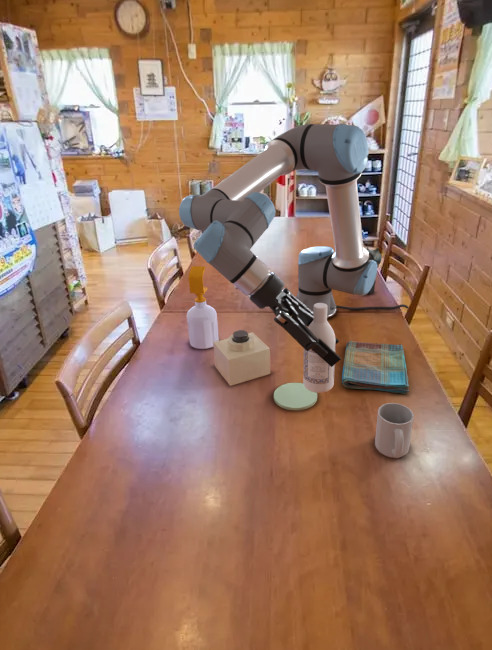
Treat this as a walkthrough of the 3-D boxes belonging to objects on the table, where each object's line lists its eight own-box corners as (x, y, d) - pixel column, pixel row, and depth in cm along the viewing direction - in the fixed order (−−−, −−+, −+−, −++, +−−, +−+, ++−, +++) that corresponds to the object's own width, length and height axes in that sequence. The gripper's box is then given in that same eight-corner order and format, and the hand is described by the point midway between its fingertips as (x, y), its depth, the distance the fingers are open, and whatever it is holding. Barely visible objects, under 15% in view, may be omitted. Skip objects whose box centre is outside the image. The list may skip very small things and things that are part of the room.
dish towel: (340, 388, 118) (341, 380, 117) (345, 345, 139) (346, 338, 138) (408, 395, 115) (410, 386, 114) (403, 349, 136) (404, 342, 134)
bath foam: (314, 373, 108) (316, 296, 100) (339, 383, 104) (343, 304, 96) (297, 386, 104) (297, 306, 95) (322, 397, 100) (324, 315, 91)
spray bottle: (221, 336, 145) (216, 263, 135) (215, 350, 137) (208, 273, 127) (194, 335, 146) (186, 262, 136) (186, 349, 138) (177, 273, 128)
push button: (244, 335, 125) (244, 328, 124) (250, 341, 122) (250, 334, 121) (231, 338, 123) (230, 332, 123) (236, 345, 120) (236, 338, 119)
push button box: (253, 356, 134) (252, 325, 129) (270, 373, 125) (269, 341, 121) (215, 366, 129) (212, 335, 124) (230, 385, 120) (227, 353, 116)
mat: (309, 382, 121) (310, 379, 120) (322, 406, 111) (323, 404, 111) (269, 388, 119) (269, 385, 118) (279, 413, 109) (279, 410, 109)
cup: (405, 436, 101) (409, 403, 97) (415, 468, 92) (420, 434, 88) (372, 435, 101) (375, 402, 97) (379, 468, 92) (383, 433, 88)
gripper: (252, 278, 104) (321, 341, 110) (240, 316, 86) (324, 389, 92) (275, 256, 102) (344, 322, 108) (267, 290, 84) (351, 367, 90)
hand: (335, 353), depth 100 cm, fingers closed on bath foam, 7 cm apart
